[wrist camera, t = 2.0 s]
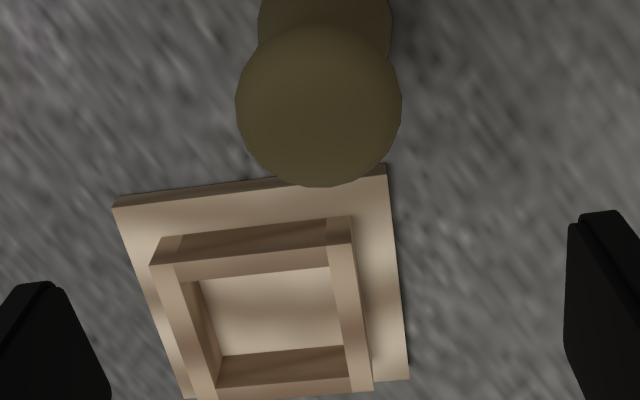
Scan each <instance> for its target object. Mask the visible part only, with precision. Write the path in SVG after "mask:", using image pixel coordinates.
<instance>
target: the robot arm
mask: <svg viewBox="0 0 640 400" xmlns="http://www.w3.org/2000/svg"><path fill="white" fill-rule="evenodd" d="M563 342H564V349H565V353H566V356H567V359H568V361H569V363H570V365H571V368H572V370H573V372H574V374H575V377H576V379H577V381H578V383H579V386H580V388H581V390H582V392H583V395H584V397H585V399H586V400H640V239H639V237H638V236H637V235H636V234H635V232H634V231H633V230H632V228H631V227H630V226H629V224H628V223H627V222H626V221H625V219H624V218H623V217H622V215H621V214H620V213H619V212H618V211H617V210H608V211H600V212H592V213H584V214H581V215H580V216H579V219H578V223H571V224H570V225H569V227H568V237H567V260H566V283H565V305H564V328H563ZM111 397H112V392H111V386H110V384H109V381H108V379H107V377H106V375H105V373H104V371H103V369H102V367H101V365H100V363H99V361H98V359H97V357H96V355H95V353H94V351H93V348H92V346H91V344H90V342H89V340H88V338H87V336H86V334H85V332H84V330H83V328H82V326H81V324H80V322H79V320H78V318H77V316H76V313H75V311H74V309H73V307H72V305H71V303H70V301H69V299H68V297H67V295H66V293H65V291H64V290H63V289H62V288H61V287H56V286H55V284H53V283H52V282H51V281H41V282H33V283H25V284H19V285H17V286H16V287H15V288H14V289H13V290H12V291H11V292H10V294H9V295H8V297H7V298H6V299H5V301H4V302H3V303H2V305H1V306H0V400H111Z"/></svg>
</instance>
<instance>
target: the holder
mask: <svg viewBox="0 0 640 400" xmlns="http://www.w3.org/2000/svg"><path fill="white" fill-rule="evenodd" d="M111 210H112V213H113V215H114V218H115V220H116V223H117V226H118V228H119V231H120V233H121V236H122V239H123V241H124V244H125V246H126V249H127V252H128V254H129V257H130V259H131V262H132V265H133V267H134V270H135V272H136V275H137V278H138V280H139V283H140V285H141V288H142V290H143V293H144V296H145V298H146V301H147V303H148V306H149V309H150V311H151V314H152V316H153V319H154V322H155V324H156V327H157V329H158V332H159V335H160V337H161V340H162V342H163V345H164V348H165V350H166V353H167V355H168V358H169V361H170V363H171V366H172V368H173V371H174V374H175V376H176V379H177V381H178V384H179V387H180V389H181V392H182V394H183V397H184V399H187V398H197V400H271V399H283V398H294V397H306V396H317V395H329V394H340V393H352V392H363V391H374V382H380V381H392V380H403V379H410V376H409V367H408V358H407V349H406V340H405V331H404V323H403V314H402V305H401V296H400V287H399V278H398V269H397V260H396V251H395V242H394V233H393V225H392V216H391V207H390V198H389V189H388V180H387V172H386V165H385V163H382V164H377V166H376V167H375V168H374V169H373V170H371V171H369V172H368V173H366V174H365V175H363V176H361V177H360V178H358V179H357V180H355V181H353V182H349V183H346V184H342V185H339V186H335V187H332V188H306V187H303V186H299V185H296V184H292V183H289V182H285V181H283V180H281V179H280V178H278V177H270V178H262V179H254V180H246V181H238V182H230V183H222V184H214V185H206V186H198V187H190V188H182V189H174V190H166V191H158V192H150V193H142V194H134V195H125V196H118V198H117V199H116V201H115V202H114V204H113V206H112V207H111Z"/></svg>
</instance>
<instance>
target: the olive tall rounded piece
mask: <svg viewBox="0 0 640 400" xmlns="http://www.w3.org/2000/svg"><path fill="white" fill-rule="evenodd" d="M257 20H258V44H259V46H258V47H257V49H256V50H255V52H254V53H253V55H252V56H251V58H250V59H249V61H248V62H247V64H246V65H245V67H244V69H243V71H242V73H241V76H240V80H239V84H238V88H237V91H236V95H235V106H236V117H237V125H238V129H239V131H240V133H241V136H242V138H243V140H244V143H245V145H246V147H247V150H248V151H249V152H250V153H251V155H252V156H253V157H254V158H255V159H256V160H257V161H258V163H259V164H260V165H261V166H262V167H263V168H264V169H265V170H267V171H269V172H270V173H272V174H273V175H275V176H277V177H278V178H280V179H281V180H283V181H285V182H289V183H292V184H296V185H299V186H303V187H306V188H332V187H335V186H339V185H342V184H346V183H349V182H353V181H355V180H357V179H358V178H360V177H361V176H363V175H365V174H366V173H368V172H369V171H371V170H373V169H374V168H375V167H376V166H377V164H378V163H379V162H380V161H381V160H382V159H383V157H384V156H385V155H386V154H387V153H388V152H389V150H390V148H391V145H392V143H393V140H394V138H395V135H396V133H397V131H398V128H399V126H400V123H401V111H402V95H401V92H400V88H399V84H398V81H397V77H396V74H395V70H394V67H393V66H392V64H391V63H390V62H389V60H388V54H389V49H390V45H391V38H392V15H391V12H390V8H389V4H388V1H387V0H262V4H261V7H260V11H259V15H258V19H257Z"/></svg>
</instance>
